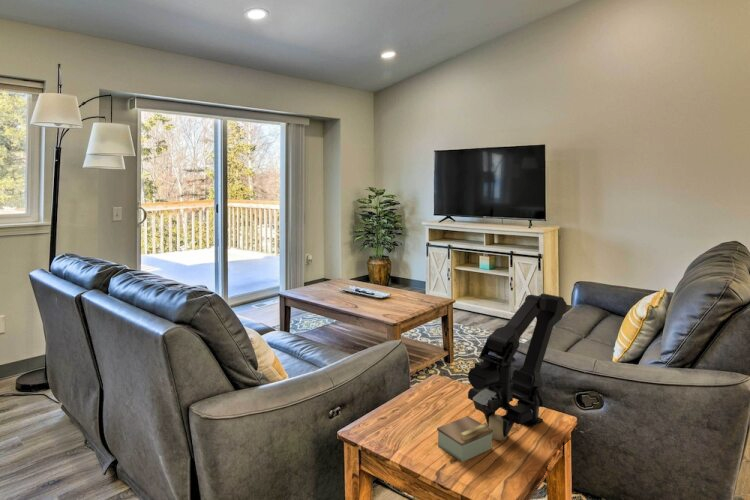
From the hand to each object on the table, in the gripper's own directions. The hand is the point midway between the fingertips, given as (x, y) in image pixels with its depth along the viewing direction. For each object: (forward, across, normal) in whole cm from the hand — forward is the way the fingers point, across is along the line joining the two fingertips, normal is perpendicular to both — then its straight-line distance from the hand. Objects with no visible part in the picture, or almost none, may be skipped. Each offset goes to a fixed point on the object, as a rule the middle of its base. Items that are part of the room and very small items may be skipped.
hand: (497, 432), depth 128 cm
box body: (+1, -1, -12) cm, 12 cm away
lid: (-4, -1, -12) cm, 13 cm away
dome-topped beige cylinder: (+1, 0, 0) cm, 1 cm away
